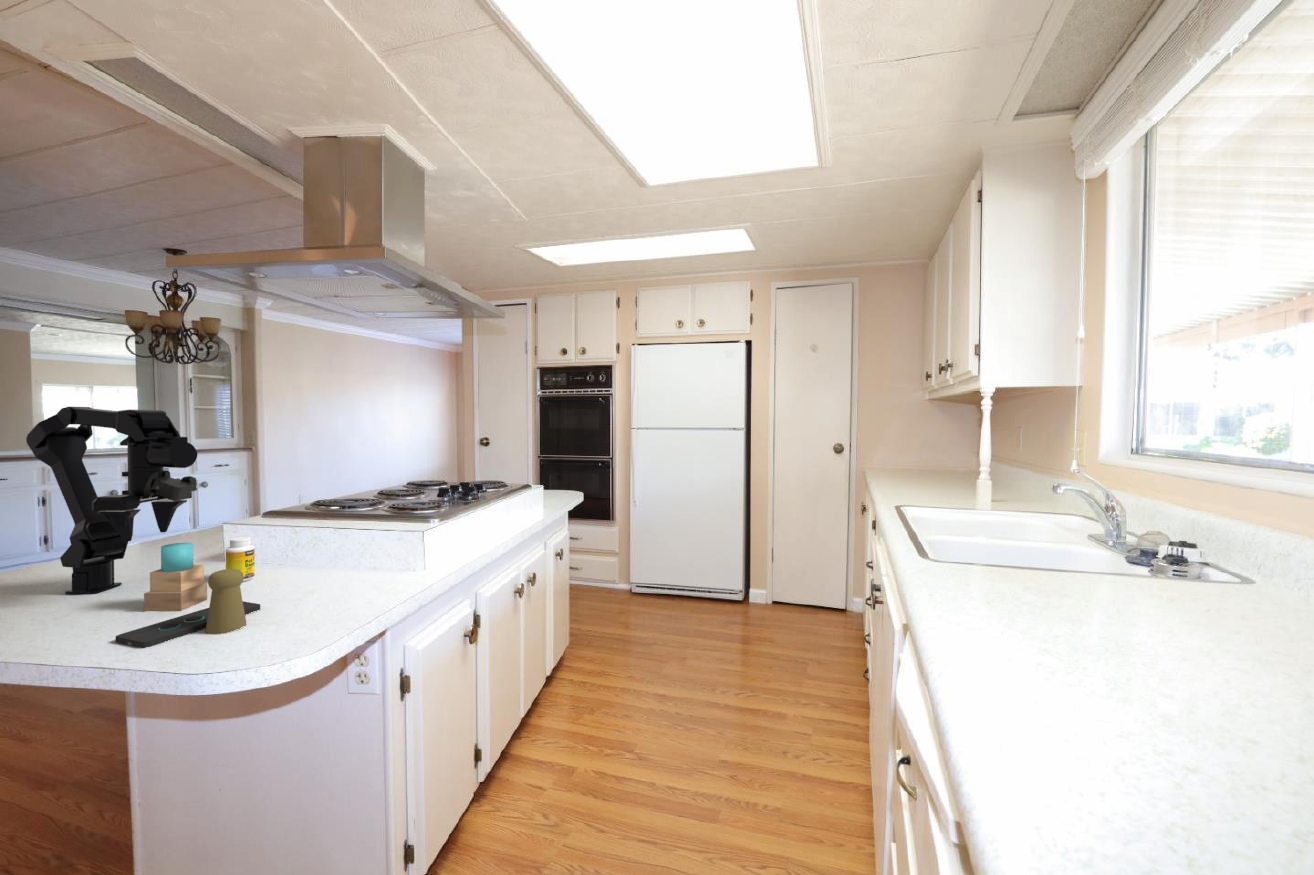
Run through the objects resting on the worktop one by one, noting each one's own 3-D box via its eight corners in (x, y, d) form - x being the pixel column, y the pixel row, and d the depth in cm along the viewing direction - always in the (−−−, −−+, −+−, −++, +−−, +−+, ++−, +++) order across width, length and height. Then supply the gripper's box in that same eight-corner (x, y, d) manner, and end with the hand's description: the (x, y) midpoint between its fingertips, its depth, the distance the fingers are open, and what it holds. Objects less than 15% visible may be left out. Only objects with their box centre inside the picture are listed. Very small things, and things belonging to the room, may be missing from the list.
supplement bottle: (247, 582, 126) (247, 540, 126) (220, 584, 125) (220, 541, 125) (259, 576, 132) (259, 535, 132) (233, 577, 131) (233, 536, 130)
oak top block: (174, 582, 114) (174, 564, 114) (203, 582, 114) (203, 564, 114) (150, 591, 108) (149, 572, 108) (180, 591, 108) (180, 572, 108)
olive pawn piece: (212, 636, 95) (212, 576, 95) (199, 629, 99) (199, 571, 98) (252, 626, 101) (252, 569, 100) (238, 619, 104) (238, 564, 103)
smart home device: (113, 635, 92) (233, 599, 112) (113, 644, 93) (233, 607, 112) (144, 641, 90) (262, 603, 109) (144, 651, 90) (262, 612, 109)
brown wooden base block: (172, 601, 114) (172, 582, 114) (207, 600, 115) (207, 582, 114) (144, 612, 107) (143, 593, 107) (181, 612, 108) (181, 593, 108)
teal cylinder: (174, 565, 113) (174, 542, 113) (199, 565, 113) (199, 542, 113) (154, 572, 108) (154, 548, 108) (180, 572, 108) (180, 548, 108)
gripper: (149, 470, 108) (150, 546, 108) (215, 463, 126) (216, 528, 127) (89, 470, 107) (90, 546, 107) (165, 462, 125) (165, 528, 126)
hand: (146, 536), depth 117 cm, fingers open, 9 cm apart
